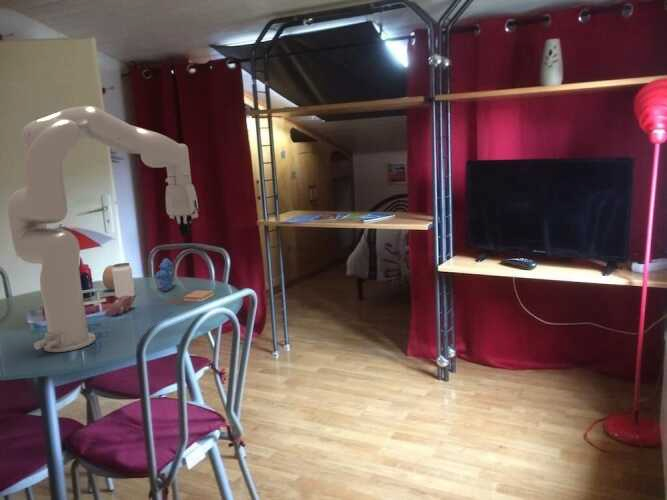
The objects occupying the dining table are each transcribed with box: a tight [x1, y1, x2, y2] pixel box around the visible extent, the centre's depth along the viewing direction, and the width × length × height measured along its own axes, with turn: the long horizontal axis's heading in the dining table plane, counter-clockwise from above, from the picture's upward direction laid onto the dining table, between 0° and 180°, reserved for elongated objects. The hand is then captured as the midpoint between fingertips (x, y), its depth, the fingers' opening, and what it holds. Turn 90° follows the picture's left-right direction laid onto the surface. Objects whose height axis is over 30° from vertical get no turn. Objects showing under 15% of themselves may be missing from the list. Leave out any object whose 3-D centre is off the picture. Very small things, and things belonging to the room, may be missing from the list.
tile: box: [184, 289, 215, 302], centre depth 178 cm, size 8×1×7 cm
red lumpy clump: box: [104, 295, 135, 317], centre depth 167 cm, size 10×5×7 cm, turn 169°
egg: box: [102, 264, 115, 291], centre depth 198 cm, size 7×7×10 cm
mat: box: [158, 290, 198, 306], centre depth 179 cm, size 16×12×1 cm
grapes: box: [154, 257, 175, 292], centre depth 192 cm, size 12×7×12 cm, turn 1°
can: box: [112, 262, 136, 298], centre depth 186 cm, size 6×6×12 cm
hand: (185, 234), depth 178 cm, fingers closed
